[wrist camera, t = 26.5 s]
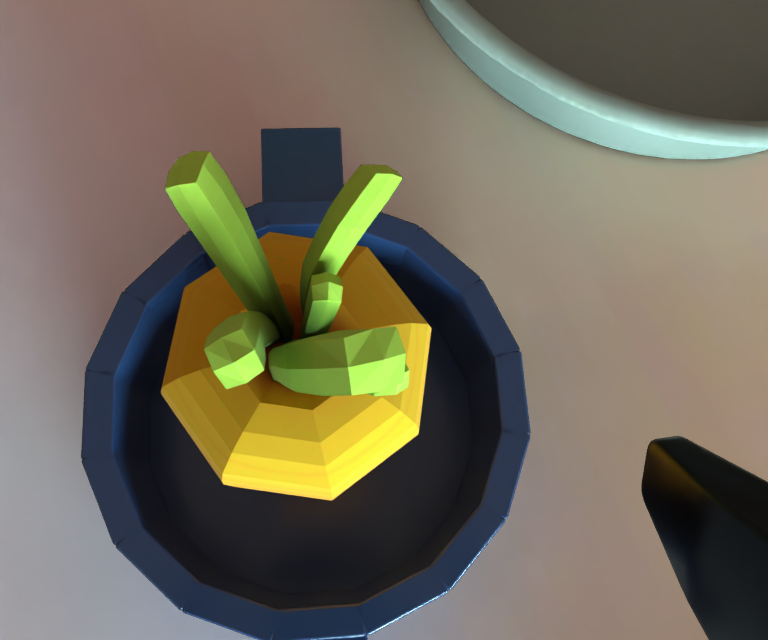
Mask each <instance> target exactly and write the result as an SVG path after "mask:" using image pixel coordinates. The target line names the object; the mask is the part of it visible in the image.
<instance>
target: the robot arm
mask: <svg viewBox="0 0 768 640" xmlns="http://www.w3.org/2000/svg"><path fill="white" fill-rule="evenodd" d="M642 496H643V499H644V502H645V505H646V507H647V509H648V512H649V514H650V516H651V519H652V521H653V523H654V526H655V528H656V530H657V533H658V535H659V537H660V539H661V542H662V544H663V546H664V549H665V551H666V553H667V556H668V558H669V560H670V563H671V565H672V567H673V569H674V572H675V574H676V576H677V579H678V581H679V583H680V586H681V588H682V590H683V592H684V594H685V596H686V598H687V601H688V603H689V604H690V606H691V608H692V610H693V612H694V614H695V616H696V618H697V619H698V621H699V623H700V625H701V626H702V628H703V630H704V632H705V633H706V635H707V637H708V639H709V640H768V482H767V481H765V480H763V479H761V478H759V477H757V476H755V475H754V474H752V473H750V472H748V471H746V470H744V469H742V468H740V467H739V466H737V465H735V464H733V463H731V462H729V461H727V460H725V459H724V458H722V457H720V456H718V455H716V454H714V453H712V452H710V451H709V450H707V449H705V448H703V447H701V446H699V445H697V444H695V443H694V442H692V441H690V440H688V439H686V438H684V437H681V436H673V437H666V438H659V439H655V440H653V441H651V442H650V444H649V445H648V449H647V454H646V460H645V466H644V472H643V478H642Z"/></svg>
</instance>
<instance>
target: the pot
mask: <svg viewBox="0 0 768 640" xmlns="http://www.w3.org/2000/svg"><path fill="white" fill-rule="evenodd" d="M261 157H262V202H260V203H258V204H255V205H253V206H250V207H248V208H245V210H246V212H247V215H248V217H249V219H250V222H251V224H252V226H253V229H254V231H255V233H256V235H257V238H258V239H259V238H261V237H262V236H264V235H265V234H267V233H268V232H274V233H281V234H287V235H294V236H300V237H306V238H314V236H315V234H316V232H317V230H318V228H319V226H320V224H321V222H322V220H323V218H324V216H325V214H326V213H327V211H328V209H329V207H330V206H331V204H332V203H333V201H334V200H335V198H336V197H337V195H338V194H339V192H340V191H341V189H342V188H343V186H344V185H343V166H342V147H341V129H340V128H283V129H261ZM356 245H358V246H364V247H368V248H369V249H370V251H371V252H372V253H373V254H374V256H375V257H376V258H377V260H378V261H379V262H380V263H381V265H382V266H383V267H384V268H385V270H386V271H387V272H388V274H389V275H390V276H391V277H392V279H393V280H394V281H395V282H396V284H397V285H398V286H399V287H400V289H401V290H402V291H403V293H404V294H405V295H406V296H407V298H408V299H409V300H410V301H411V303H412V304H413V305H414V307H415V308H416V309H417V310H418V312H419V313H420V314H421V315H422V317H423V318H424V319H425V321H426V322H427V323H428V324H429V326H430V327H431V336H430V344H429V353H428V361H427V369H426V377H425V385H424V394H423V402H422V410H421V418H420V426H419V433H418V435H417V436H415V437H414V438H413V439H412V440H410V441H409V442H408V443H406V444H405V445H404V446H402V447H401V448H400V449H399V450H397V451H396V452H395V453H393V454H392V455H391V456H389V457H388V458H387V459H385V460H384V461H383V462H382V463H380V464H379V465H378V466H376V467H375V468H374V469H372V470H371V471H370V472H369V473H367V474H366V475H365V476H363V477H362V478H361V479H359V480H358V481H357V482H355V483H354V484H353V485H352V486H350V487H349V488H348V489H346V490H345V491H344V492H342V493H341V494H340V495H339V496H337V497H336V498H335V499H333V500H324V499H317V498H310V497H303V496H296V495H289V494H282V493H275V492H268V491H261V490H254V489H247V488H240V487H234V486H229V485H224V484H223V483H222V481H221V480H220V478H219V477H218V475H217V474H216V473H215V471H214V470H213V468H212V467H211V465H210V464H209V462H208V461H207V460H206V458H205V457H204V455H203V454H202V452H201V451H200V449H199V448H198V447H197V445H196V444H195V442H194V441H193V439H192V438H191V436H190V435H189V434H188V432H187V431H186V429H185V428H184V426H183V425H182V423H181V422H180V421H179V419H178V418H177V416H176V415H175V413H174V412H173V410H172V409H171V408H170V406H169V405H168V403H167V402H166V400H165V399H164V397H163V396H162V394H161V388H162V384H163V379H164V375H165V371H166V366H167V362H168V357H169V353H170V348H171V344H172V339H173V335H174V331H175V326H176V322H177V317H178V313H179V308H180V304H181V299H182V295H183V291H184V288H185V287H186V286H187V285H189V284H190V283H192V282H193V281H195V280H196V279H198V278H199V277H201V276H202V275H204V274H205V273H207V272H209V271H210V270H212V269H213V268H215V267H216V265H215V263H214V262H213V260H212V259H211V258H210V256H209V255H208V253H207V252H206V251H205V249H204V248H203V246H202V245H201V243H200V242H199V241H198V239H197V238H196V236H195V235H194V233H193V232H192V231H188V232H187V233H186V235H183V236H182V237H181V238H180V239H179V240H177V241H176V242H175V243H174V244H173V245H172V246H171V247H170V248H169V249H168V250H167V251H166V252H165V253H164V254H162V255H161V256H160V257H159V258H158V259H157V260H156V261H155V262H154V263H153V264H152V265H151V266H150V267H149V268H147V269H146V270H145V271H144V272H143V273H142V274H141V275H140V276H139V277H138V278H137V279H136V280H135V281H134V282H132V283H131V284H130V285H129V286H128V287H127V288H126V289H125V292H122V293H121V295H120V297H119V300H118V302H117V304H116V306H115V308H114V310H113V312H112V314H111V316H110V319H109V321H108V323H107V325H106V327H105V329H104V331H103V333H102V335H101V338H100V340H99V342H98V344H97V346H96V348H95V350H94V352H93V354H92V357H91V359H90V361H89V363H88V365H87V367H86V370H87V371H86V372H85V386H84V407H83V429H82V450H81V458H82V459H83V460H82V464H83V466H84V469H85V472H86V474H87V477H88V479H89V482H90V485H91V487H92V490H93V492H94V495H95V498H96V500H97V503H98V505H99V508H100V511H101V513H102V516H103V519H104V521H105V524H106V526H107V529H108V532H109V534H110V537H111V539H112V542H113V544H114V545H116V548H117V549H118V550H119V551H120V552H121V553H122V554H123V555H124V556H125V557H126V558H127V559H128V560H129V561H130V562H131V563H132V564H133V565H134V566H135V567H136V568H137V569H138V570H139V571H140V572H141V573H142V574H143V575H144V576H145V577H146V578H147V579H148V580H149V581H150V582H151V583H152V584H154V585H155V586H156V587H157V588H158V589H159V590H160V591H161V592H162V593H163V594H164V595H165V596H166V597H167V598H168V599H169V600H170V601H171V602H172V603H173V604H174V605H175V606H176V607H177V608H178V609H179V610H182V612H183V613H185V614H188V615H191V616H194V617H197V618H199V619H202V620H205V621H208V622H210V623H213V624H216V625H219V626H222V627H224V628H227V629H230V630H233V631H235V632H238V633H241V634H244V635H247V636H249V637H252V638H255V639H258V640H367V635H371V634H372V633H374V632H376V631H378V630H380V629H382V628H384V627H385V626H387V625H389V624H391V623H393V622H395V621H397V620H398V619H400V618H402V617H404V616H406V615H408V614H409V613H411V612H413V611H415V610H417V609H419V608H421V607H422V606H424V605H426V604H428V603H430V602H432V601H434V600H435V599H437V598H439V597H441V596H443V595H445V594H447V592H448V590H451V589H452V588H453V587H454V586H455V584H456V583H457V582H458V581H459V579H460V578H461V577H462V576H463V574H464V573H465V572H466V571H467V569H468V568H469V567H470V566H471V564H472V563H473V562H474V561H475V559H476V558H477V557H478V555H479V554H480V553H481V552H482V550H483V549H484V548H485V547H486V545H487V544H488V543H489V542H490V540H491V539H492V538H493V537H494V535H495V534H496V533H497V532H498V530H499V529H500V528H501V526H502V525H503V524H504V523H505V519H507V517H508V514H509V511H510V507H511V504H512V500H513V497H514V493H515V490H516V486H517V482H518V479H519V475H520V472H521V468H522V465H523V461H524V457H525V454H526V450H527V447H528V443H529V440H530V435H529V434H530V424H529V415H528V406H527V398H526V389H525V381H524V372H523V363H522V355H521V352H520V349H519V346H518V344H517V343H516V341H515V339H514V337H513V335H512V333H511V331H510V330H509V328H508V326H507V324H506V322H505V320H504V319H503V317H502V315H501V313H500V311H499V309H498V308H497V306H496V304H495V302H494V300H493V298H492V296H491V295H490V293H489V291H488V289H487V287H486V285H485V284H484V282H483V280H482V279H481V280H480V277H479V276H478V275H477V274H476V273H475V272H474V271H472V270H471V269H470V268H469V267H468V266H466V265H465V264H464V263H463V262H462V261H460V260H459V259H458V258H457V257H456V256H455V255H453V254H452V253H451V252H450V251H449V250H447V249H446V248H445V247H444V246H443V245H442V244H440V243H439V242H438V241H437V240H436V239H434V238H433V237H432V236H431V235H430V234H428V233H427V232H426V231H425V230H424V229H423V228H421V227H420V228H419V226H418V225H416V224H413V223H410V222H407V221H404V220H402V219H399V218H396V217H393V216H390V215H387V214H384V213H381V212H379V213H378V215H377V216H376V217H375V219H374V220H373V222H372V223H371V224H370V226H369V227H368V228H367V230H366V231H365V233H364V234H363V235H362V237H361V238H360V240H359V241H358V243H357V244H356Z"/></svg>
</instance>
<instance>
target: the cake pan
mask: <svg viewBox="0 0 768 640" xmlns="http://www.w3.org/2000/svg"><path fill="white" fill-rule="evenodd" d="M419 1H420V3H421V5H422V7H423V9H424V11H425V13H426V14H427V16H428V17H429V19H430V20H431V22H432V24H433V25H434V27H435V28H436V30H437V31H438V32H439V34H440V35H441V36H442V37H443V39H444V40H445V41H446V42H447V44H448V45H449V46H450V47H451V49H452V50H453V51H454V52H455V53H456V54H457V56H458V57H459V58H460V59H461V60H462V61H463V62H464V63H465V64H466V65H467V66H468V67H469V68H470V69H471V70H472V71H473V72H474V73H475V74H476V75H478V76H479V77H480V78H481V79H482V80H483V81H484V82H485V83H486V84H487V85H489V86H490V87H491V88H493V89H494V90H495V91H496V92H498V93H499V94H500V95H502V96H503V97H504V98H506V99H507V100H509V101H510V102H512V103H513V104H515V105H516V106H518V107H520V108H521V109H523V110H524V111H526V112H527V113H529V114H530V115H532V116H534V117H536V118H538V119H540V120H541V121H543V122H545V123H547V124H549V125H551V126H553V127H556V128H558V129H560V130H562V131H564V132H566V133H569V134H571V135H574V136H576V137H579V138H582V139H585V140H588V141H590V142H593V143H596V144H599V145H602V146H605V147H609V148H613V149H617V150H621V151H626V152H630V153H635V154H639V155H647V156H655V157H662V158H671V159H718V158H727V157H735V156H741V155H747V154H753V153H756V152H760V151H764V150H768V0H419Z"/></svg>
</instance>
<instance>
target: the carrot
mask: <svg viewBox="0 0 768 640" xmlns="http://www.w3.org/2000/svg"><path fill="white" fill-rule="evenodd" d="M401 180H402V176H401V175H400V174H399V173H398V172H397V171H395V170H394V169H392V168H390V167H388V166H387V165H360V167H359V168H358V169H357V170H356V171H355V173H354V174H353V175H352V176H351V177H350V179H349V180H348V181H347V182H346V183H345V185H344V186H343V188H342V189H341V191H340V192H339V194H338V195H337V197H336V198H335V200H334V201H333V203H332V204H331V206H330V207H329V209H328V211H327V213H326V214H325V216H324V218H323V220H322V222H321V224H320V226H319V228H318V230H317V232H316V234H315V236H314V238H306V237H300V236H294V235H287V234H281V233H274V232H268V233H267V234H265V235H264V236H262V237H261V238H259V239H258V238H257V235H256V233H255V231H254V229H253V226H252V224H251V222H250V219H249V217H248V215H247V212H246V210H245V208H244V206H243V204H242V202H241V200H240V199H239V197H238V195H237V193H236V191H235V189H234V188H233V186H232V184H231V182H230V180H229V179H228V177H227V175H226V173H225V172H224V171H223V169H222V168H221V167H220V165H219V164H218V163H217V161H216V160H215V159H214V157H213V156H212V154H211V153H210V152H205V151H192V152H190V153H188V154H186V155H184V156H182V157H179V158H178V159H177V161H176V162H175V164H174V165H173V166H172V168H171V169H170V171H169V173H168V177H167V182H166V186H165V190H166V191H167V193H168V195H169V197H170V199H171V200H172V202H173V204H174V206H175V208H176V209H177V211H178V212H179V214H180V215H181V217H182V218H183V219H184V221H185V222H186V224H187V225H188V226H189V228H190V229H191V231H192V232H193V233H194V235H195V236H196V238H197V239H198V241H199V242H200V243H201V245H202V246H203V248H204V249H205V251H206V252H207V253H208V255H209V256H210V258H211V259H212V260H213V262H214V263H215V265H216V267H215V268H213V269H212V270H210V271H209V272H207V273H205V274H204V275H202V276H201V277H199V278H198V279H196V280H195V281H193V282H192V283H190V284H189V285H187V286H186V287H185V288H184V291H183V295H182V299H181V304H180V308H179V313H178V317H177V322H176V326H175V331H174V335H173V339H172V344H171V348H170V353H169V357H168V362H167V366H166V371H165V375H164V379H163V384H162V388H161V394H162V396H163V397H164V399H165V400H166V402H167V403H168V405H169V406H170V408H171V409H172V410H173V412H174V413H175V415H176V416H177V418H178V419H179V421H180V422H181V423H182V425H183V426H184V428H185V429H186V431H187V432H188V434H189V435H190V436H191V438H192V439H193V441H194V442H195V444H196V445H197V447H198V448H199V449H200V451H201V452H202V454H203V455H204V457H205V458H206V460H207V461H208V462H209V464H210V465H211V467H212V468H213V470H214V471H215V473H216V474H217V475H218V477H219V478H220V480H221V481H222V483H223V484H224V485H229V486H234V487H240V488H247V489H254V490H261V491H268V492H275V493H282V494H289V495H296V496H303V497H310V498H317V499H324V500H333V499H335V498H336V497H337V496H339V495H340V494H341V493H342V492H344V491H345V490H346V489H348V488H349V487H350V486H352V485H353V484H354V483H355V482H357V481H358V480H359V479H361V478H362V477H363V476H365V475H366V474H367V473H369V472H370V471H371V470H372V469H374V468H375V467H376V466H378V465H379V464H380V463H382V462H383V461H384V460H385V459H387V458H388V457H389V456H391V455H392V454H393V453H395V452H396V451H397V450H399V449H400V448H401V447H402V446H404V445H405V444H406V443H408V442H409V441H410V440H412V439H413V438H414V437H415V436H417V435H418V433H419V426H420V418H421V410H422V402H423V394H424V385H425V377H426V369H427V361H428V353H429V344H430V336H431V327H430V326H429V324H428V323H427V322H426V321H425V319H424V318H423V317H422V315H421V314H420V313H419V312H418V310H417V309H416V308H415V307H414V305H413V304H412V303H411V301H410V300H409V299H408V298H407V296H406V295H405V294H404V293H403V291H402V290H401V289H400V287H399V286H398V285H397V284H396V282H395V281H394V280H393V279H392V277H391V276H390V275H389V274H388V272H387V271H386V270H385V268H384V267H383V266H382V265H381V263H380V262H379V261H378V260H377V258H376V257H375V256H374V254H373V253H372V252H371V251H370V249H369V248H368V247H364V246H358V245H356V244H357V243H358V241H359V240H360V238H361V237H362V235H363V234H364V233H365V231H366V230H367V228H368V227H369V226H370V224H371V223H372V222H373V220H374V219H375V217H376V216H377V215H378V213H379V212H380V211H381V209H382V208H383V207H384V205H385V204H386V203H387V201H388V200H389V198H390V197H391V195H392V194H393V192H394V191H395V189H396V188H397V186H398V185H399V183H400V181H401Z"/></svg>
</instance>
